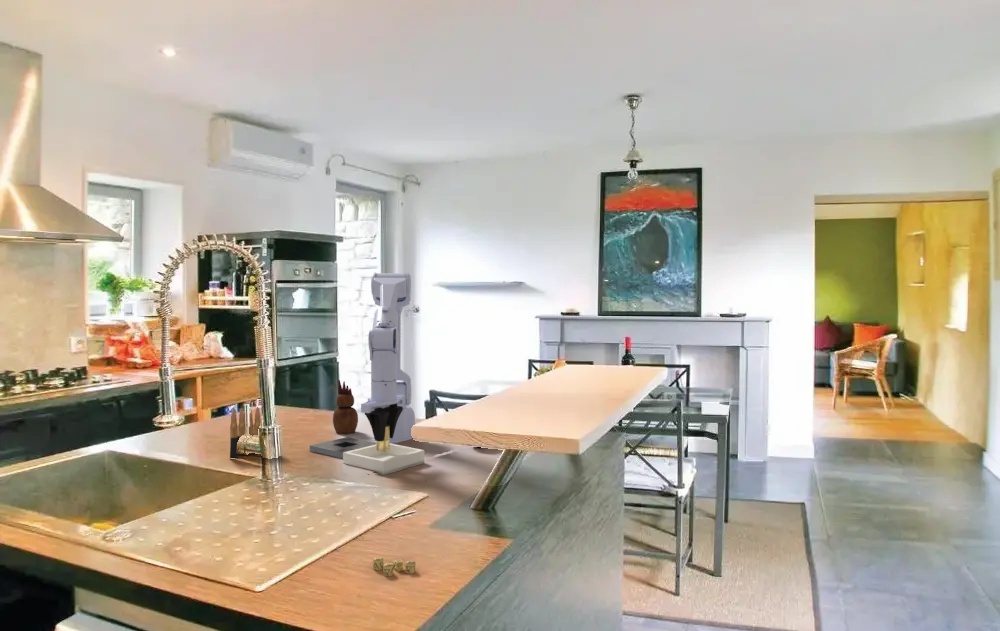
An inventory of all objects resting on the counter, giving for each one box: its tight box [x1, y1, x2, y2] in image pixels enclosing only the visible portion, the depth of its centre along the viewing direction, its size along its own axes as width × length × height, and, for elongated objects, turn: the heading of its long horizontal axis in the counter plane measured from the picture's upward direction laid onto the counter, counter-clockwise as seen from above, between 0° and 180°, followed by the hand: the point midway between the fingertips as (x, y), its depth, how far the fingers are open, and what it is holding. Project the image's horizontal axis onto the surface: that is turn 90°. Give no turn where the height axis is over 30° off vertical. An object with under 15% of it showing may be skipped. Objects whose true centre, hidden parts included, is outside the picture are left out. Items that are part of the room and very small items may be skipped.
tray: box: [342, 443, 425, 476], centre depth 163 cm, size 13×13×3 cm
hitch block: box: [309, 436, 377, 460], centre depth 174 cm, size 12×12×2 cm
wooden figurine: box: [332, 379, 359, 435], centre depth 194 cm, size 7×6×15 cm
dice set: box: [372, 557, 416, 577], centre depth 104 cm, size 5×5×2 cm
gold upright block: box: [376, 425, 390, 451], centre depth 163 cm, size 3×3×6 cm
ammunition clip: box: [229, 406, 277, 459], centre depth 169 cm, size 11×2×12 cm, turn 107°
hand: (384, 439), depth 163 cm, fingers closed on gold upright block, 3 cm apart
